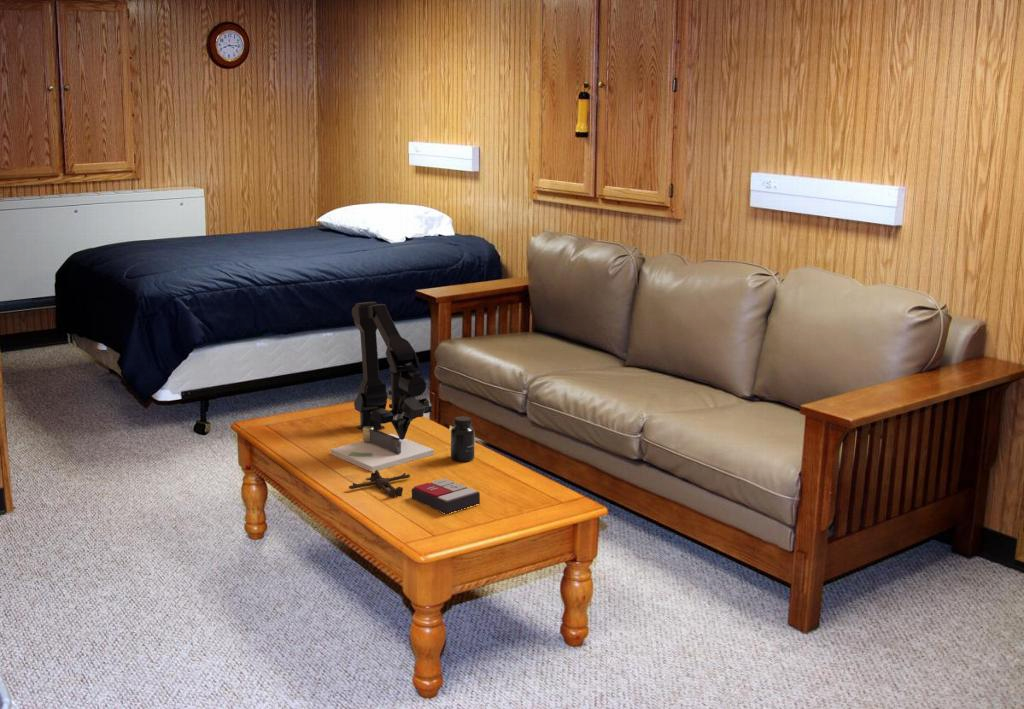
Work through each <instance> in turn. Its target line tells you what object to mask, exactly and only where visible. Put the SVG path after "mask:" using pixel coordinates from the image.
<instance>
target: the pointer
mask: <svg viewBox="0 0 1024 709" xmlns="http://www.w3.org/2000/svg"><path fill="white" fill-rule="evenodd" d="M388 434H389V433H386V432H383V431H381V430H376V429H374V427H372V426H365V427H363V430H362V441H363V442H368V443H369V442H370V443H373V444H375V445H378V446H380V447H383V448H385V449H388V450H390V451H393V452H395V453H397V454H399V453H401V439H400V438H396V437H394V436H391V435H388Z"/></svg>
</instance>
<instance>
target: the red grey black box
mask: <svg viewBox="0 0 1024 709" xmlns="http://www.w3.org/2000/svg"><path fill="white" fill-rule="evenodd" d="M480 496H481V494H480V491H478V490H475V489H473V488H470V487H468V486H466V485H463V484H461V483H458V482H455V481H452V480H450V479H447V478H441V479H435V480H433V481H430V482H425V483H421V484H418V485H415V486H414V487H413V488H411V499H412V498H413V500H415V501H416V502H419V503H421V502H422V503H421V504H423V503H424V504H423V505H425V504H426V505H425V506H427V505H428V506H427V507H429V506H430V508H432V509H434V508H435V510H436V509H437V510H439V511H441V512H443V513H445V514H449V513H451V512H454V511H458V510H461V509H464V508H467V507H470V506H474V505H476V504H480V505H481V497H480ZM437 510H436V511H437ZM439 511H438V512H439ZM441 512H440V513H441ZM443 513H442V514H443ZM445 514H444V515H445ZM449 515H450V514H449Z"/></svg>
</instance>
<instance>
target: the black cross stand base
mask: <svg viewBox="0 0 1024 709" xmlns="http://www.w3.org/2000/svg"><path fill="white" fill-rule="evenodd" d="M409 478H411V475H410V474H408V473H407V474H406V472H404V473H403V474H401V475H398V476H393V477H383V476H382V475H381V474H380V471H379V470H378V471H377V470H376V471H375V472H371V473H370V477H366V478H365V481H368V482H364V483H362V482H361V483H353V482H352V483H351V484H352V485H349V486H348V489H349V490H355V489H358V488H363V487H369V486H370V487H371V486H376V487H378V489H380V490H382V491H383V492H384V493H385V494H386V495H387V496H388V497H390V498H391V499H394V498H396V497H398V496H399V497H403V491H404V488H403V487H402V486H397V487H396V488H395V487H394V486H393V485H392V484H390V483H391V482H394V481H398V480H405V479H409Z"/></svg>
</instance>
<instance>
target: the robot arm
mask: <svg viewBox="0 0 1024 709" xmlns="http://www.w3.org/2000/svg"><path fill="white" fill-rule="evenodd" d="M351 316H352V318H353V323H354V325H355V327H356V328H357V329H358V331H359V335H360V345H361V346H360V348H361V350H360V351H361V359H362V360H361V362H362V376H363V378H362V381H361V382H360V384H359V386H358V394H357V396H356V398H355V400H354V402H353V405H354V409H355V411H357V412H358V413H360V414H359V415H360V416H359V418H360V419H359V420H360V423H359V424H360V425H356V427H355V428H357V429H359V430H361V431H363V427H365V426H372V427H374V429H376V430H378V431H381V430H383V429H385V426H384V425H383V424H387V423H391V424H392V426H393V428H394V430H395V432H396V435H397V436H399V438H400V439H401V440H403V439H404V438H405V439H406V434H407V432H408V429H409V426H410V425H411V422H412V421H414V420H415V419H418V418H422V417H423V416H424V414H428V413H431V412H433V405H432V403H431V402H430V400H429V399H428V398H426V397H423V398H420V399H419V398H418V397H420V396H421V395H423V394H424V392H425V391H426V389H427V383H426V381H425V380H424V378H422V377H421V376H420V372H419V371H421V367H420V364H421V363H420V361H419V358H418V356H417V353H416V350H415V348H414V347H413V346H412V345H411V343H410V342H409V340H407V339H406V338H403V337H402V336H401V335H400V332H399V330H398V329H397V327H396V325H395V322H394V321H393V319H392V317H391V315H390V313H389V310H388V306H387V305H386V304H384V303H380V304H378V302H376V301H367V302H356V303H355V305H354V306H353V307H352V309H351ZM377 330H378V332H379V333H380V336H381V338H382V339H383V342H384V344H385V346H386V350H385V356H386V360H387V362H388V364H389V368H388V370H389V371H390V372H391V383H390V384H391V390H388V393H387V386H386V383H384V382H383V381H382V380H381V378H380V370H379V353H378V342H377V340H378V339H377ZM388 395H389V396H390V395H391V403H389V404H388V408H389V410H387V402H388ZM416 397H417V398H418V399H417V398H416Z"/></svg>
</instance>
